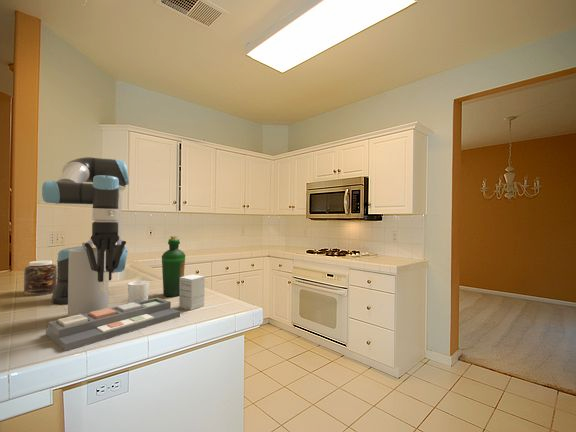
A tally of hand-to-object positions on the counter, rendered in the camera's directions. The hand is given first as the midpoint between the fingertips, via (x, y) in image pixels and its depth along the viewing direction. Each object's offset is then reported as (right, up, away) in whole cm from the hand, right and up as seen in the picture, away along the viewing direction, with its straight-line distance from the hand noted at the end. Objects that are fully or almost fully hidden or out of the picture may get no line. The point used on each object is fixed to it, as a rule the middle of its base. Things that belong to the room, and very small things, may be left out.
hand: (104, 290), depth 98 cm
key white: (-5, -9, -7) cm, 12 cm away
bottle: (+7, -13, +41) cm, 43 cm away
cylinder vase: (-13, -12, +10) cm, 20 cm away
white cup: (0, -13, +22) cm, 26 cm away
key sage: (+10, -10, +14) cm, 20 cm away
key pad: (+4, -12, +2) cm, 13 cm away
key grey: (+5, -9, +7) cm, 12 cm away
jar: (-56, -12, +40) cm, 70 cm away
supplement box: (+22, -13, +23) cm, 35 cm away
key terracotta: (0, -9, 0) cm, 9 cm away
